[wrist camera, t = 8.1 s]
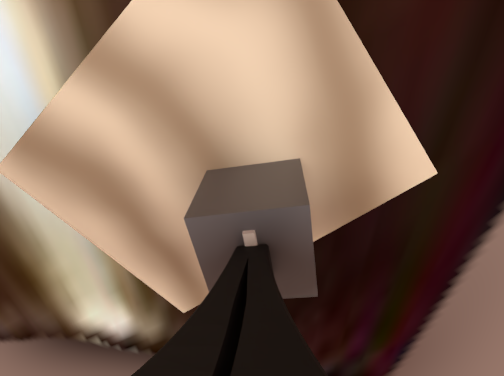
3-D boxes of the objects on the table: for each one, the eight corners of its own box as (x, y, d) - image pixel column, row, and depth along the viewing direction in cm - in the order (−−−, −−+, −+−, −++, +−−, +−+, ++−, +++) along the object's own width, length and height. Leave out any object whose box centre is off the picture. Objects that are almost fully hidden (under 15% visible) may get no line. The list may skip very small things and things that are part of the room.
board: (189, 296, 22) (183, 313, 21) (16, 158, 17) (-5, 169, 16) (424, 161, 16) (437, 173, 14) (254, -126, 11) (251, -148, 9)
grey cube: (307, 234, 17) (318, 300, 13) (226, 242, 18) (211, 306, 13) (299, 158, 15) (310, 207, 10) (206, 170, 15) (182, 221, 11)
